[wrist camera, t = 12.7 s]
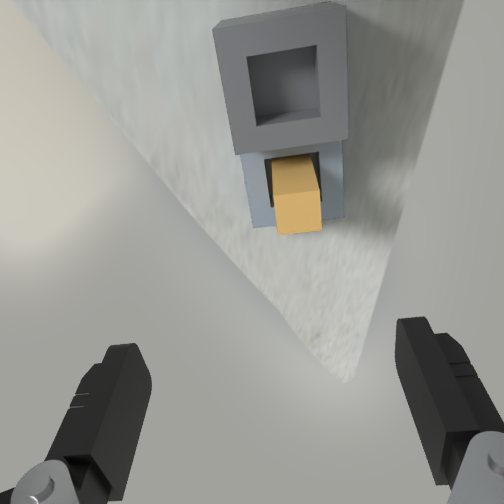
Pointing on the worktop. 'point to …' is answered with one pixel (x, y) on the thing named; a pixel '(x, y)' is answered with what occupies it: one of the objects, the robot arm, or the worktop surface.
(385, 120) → the worktop surface
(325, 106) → the socket block
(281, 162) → the plug
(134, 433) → the robot arm
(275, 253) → the worktop surface
